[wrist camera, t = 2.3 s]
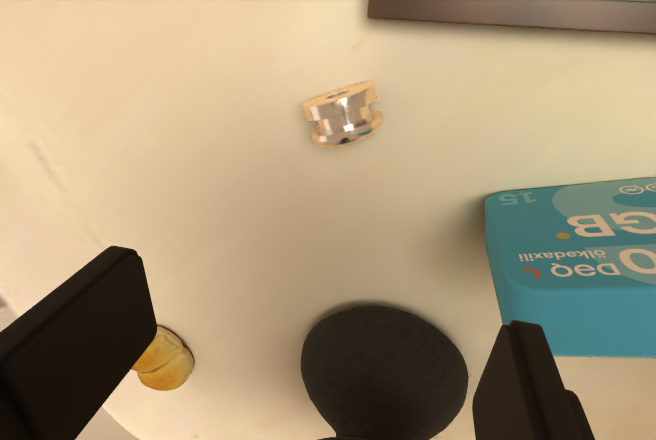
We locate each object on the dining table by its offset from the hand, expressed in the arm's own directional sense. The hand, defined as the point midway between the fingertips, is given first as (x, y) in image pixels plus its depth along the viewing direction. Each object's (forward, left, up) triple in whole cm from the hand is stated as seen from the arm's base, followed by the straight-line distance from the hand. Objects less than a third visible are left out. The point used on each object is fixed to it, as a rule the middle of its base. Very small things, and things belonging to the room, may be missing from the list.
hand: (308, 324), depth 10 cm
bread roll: (+24, +32, -22) cm, 45 cm away
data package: (-14, +6, -22) cm, 27 cm away
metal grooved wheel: (+3, 0, -22) cm, 22 cm away
